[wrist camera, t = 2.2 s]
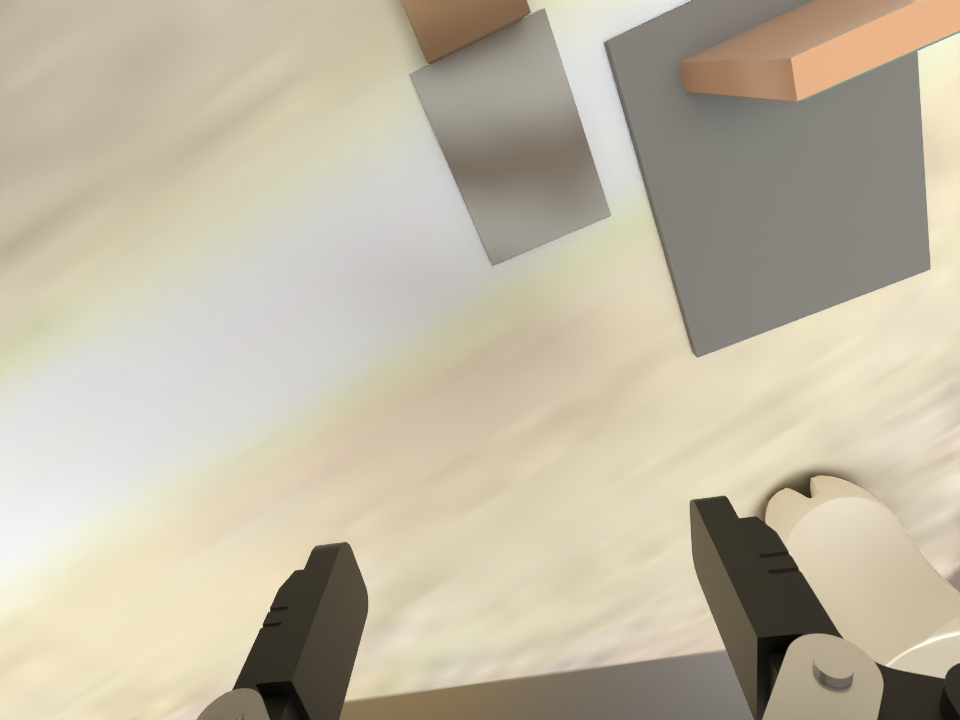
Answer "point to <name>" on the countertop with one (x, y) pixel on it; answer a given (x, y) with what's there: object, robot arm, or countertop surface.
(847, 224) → the slate mat
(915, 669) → the water bottle
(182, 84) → the countertop surface
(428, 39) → the board
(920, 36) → the tile
